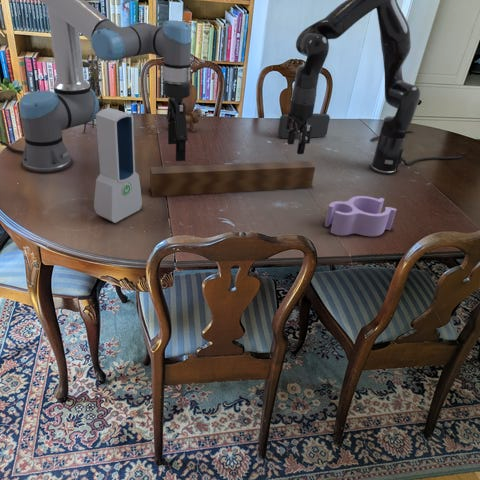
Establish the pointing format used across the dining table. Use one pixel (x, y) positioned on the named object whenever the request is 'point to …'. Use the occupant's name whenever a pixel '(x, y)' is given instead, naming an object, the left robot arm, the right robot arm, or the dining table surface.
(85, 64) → the miniature windmill
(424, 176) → the dining table surface
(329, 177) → the dining table surface
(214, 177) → the beam
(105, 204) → the electronic device
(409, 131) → the sword
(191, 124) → the lion figurine
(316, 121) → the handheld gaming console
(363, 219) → the clip
